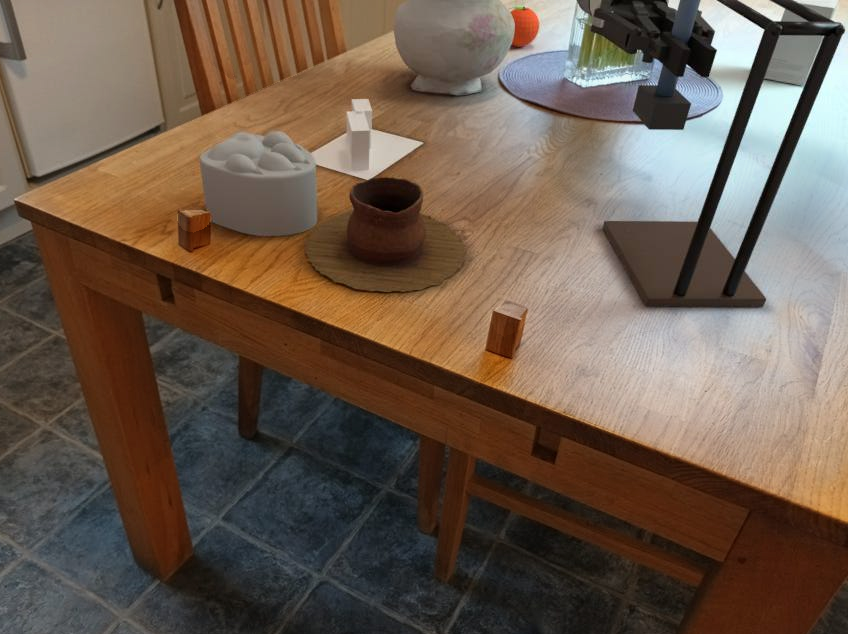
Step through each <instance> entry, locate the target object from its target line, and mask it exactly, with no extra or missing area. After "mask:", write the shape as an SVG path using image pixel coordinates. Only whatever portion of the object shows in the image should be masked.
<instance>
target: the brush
mask: <svg viewBox="0 0 848 634" xmlns="http://www.w3.org/2000/svg"><path fill="white" fill-rule="evenodd" d="M701 1H702V0H679V2H678V5H677V9H676V10H677V13H676V17H675V21H674V25H673V28H672V32H671V34H672V35H673V36H675V37H676V38H677V39H678V40H680V41H681V42H682V43H683V44H685V45H686V46H687V47H688V43H689V40H690V36H691V32H692V29H693V25H694V22H695V18H696V15H697V11H698V10H699V7H700V3H701ZM679 78H680V77H676V76H675V75H674V74H672V73H671V72H670V71H669V70H668V69H667V68H666V67H665V66H664V65H663V64H662V66H661V70H660V74H659V78H658V80H657V81H658V82H657V84H656V85H655V84H654V85H653V84H650V85H648V84H641V85H638V87H637V92H636V95H635V99H634V103H633V108H632V112H633V113H634V114H635V115H636V116H637V118H638V119H639V120H640V121H641V122H642V123H643V125H644V126H645V127H646V128H647V130H649V131H650V130H651V131H653V130H654V131H655V130H657V131H658V130H659V131H661V130H662V131H683V130H685V126H686V123H687V120H688V116H689V113H690V109H691V107H692V103H691V102H690V101H689V100H688V99H687V98H686V97H685V96H684V95H683V94H682V93H681V92H680V91H679V90H678V89H677V85H678V82H679Z"/></svg>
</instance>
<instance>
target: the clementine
mask: <svg viewBox="0 0 848 634" xmlns="http://www.w3.org/2000/svg"><path fill="white" fill-rule="evenodd" d="M510 9H513V10H511V11H510ZM508 10H509V11H510V13H511V15H512V17H513V19H514V23H515V30H514V37H513V41H512V44H511V46H514V47H517V48H522V47H526V46H528V45H529V44H532V42H533V41H535V39H536V37H537V36H538V34H539V32H540V31H539V30H540V20H539V17H538V15H537V14H536V12H535V11H533V9H532V8H528V7H526V6H513V7H510V8H508Z"/></svg>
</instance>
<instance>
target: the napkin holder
mask: <svg viewBox="0 0 848 634" xmlns="http://www.w3.org/2000/svg"><path fill="white" fill-rule="evenodd" d="M422 145H424V142H422V141H418V140H415V139H412V138H408V137H404V136H399V135H395V134H392V133H388V132H385V131H381V130H377V129H373V109H372V106H371V104H370V100H369V98H354V99H352V98H351V111H350V110H349V111H346V132H345V133H343V134H342V135H340V136H338V137H337V138H334V139H333V140H331V141H330V142H328V143H326V144H324V145H322V146H320V147H318V148H317V149H316V150H313V151H312V152H310V153H311V154H312V155H313V157H314V159H315V162H316V166H319V167H323V168H326V169H330V170H332V171H336V172H339V173H343V174H346V175H349V176H353V177H356V178H360V179H363V180H365V181H367V180H369V179H370V178H375V177H376V176H377V175H379V174H380V173H382V172H383V171H385V170H386V169H387V168H389V167H391V166H392V165H394V164H395V163H396V162H398V161H399V160H402V158H404V157H405V156H407V155H408V154H410V153H411V152H413V151H414V150H416V149H418V147H420V146H422Z"/></svg>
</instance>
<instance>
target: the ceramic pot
mask: <svg viewBox="0 0 848 634" xmlns="http://www.w3.org/2000/svg"><path fill="white" fill-rule="evenodd" d="M424 196H425V195H424V190H423V188H422V186H421V185H420V184H419V183H417V182H413V181H411V179H407V178H404V177H403V178H396V177H390V176H382V177H381V176H379V177H373V178H370V179H369V180H365V181H361V182H356V184H354V185H352V186H351V188H350V189H349V193H348V198H349V201H350V203H351V205H352V209H353V210H352V211H351V212H349V213H346V214H341V215H339V216H334V217H333V218H331V219H329V220H328V221H326V222H323V223H322V224H320V225H318V227H317V228H316V229H315V230H314V231H312V232H311V235H309V236H308V238H307V239H306V241H307V242H306V243H305V244H304V248H305V249H304V254H305V255H306V257H307V262H308V263H310V264H311V266H312V267H314V269H315V271H318V272H319V274H321V275H323V276H326V277H327V278H329V279H331V280H332V282H334V283H335V284H336V283H338V284H344V285H345V286H347V287H350V288H352V289H355V290H362V291H369V292H375V291H376V292H383V293H390V292H391V293H392V292H401V293H405V292H413V291H422V290H424V289H425V288H429V287H432V286H439V285H441V284H443V283H444V281H445V279H448V278H450V277H452V276H453V275H455V274H456V272H457V271H460V269H461V268H462V265H464V264H465V263H464V262H465V261H466V260H467V256H466V253H467V249H466V248H465V247H466V244H465V243H464V242H463V241H462V240H461V236H460V235H458V234H457V233H456V232H455V231H454V229H449V225H448V224H447V223H446V222H444V221H441V220H438V219H435V217H431V216H430V215H426V214H423V213H421V211H422V206H423V202H424Z"/></svg>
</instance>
